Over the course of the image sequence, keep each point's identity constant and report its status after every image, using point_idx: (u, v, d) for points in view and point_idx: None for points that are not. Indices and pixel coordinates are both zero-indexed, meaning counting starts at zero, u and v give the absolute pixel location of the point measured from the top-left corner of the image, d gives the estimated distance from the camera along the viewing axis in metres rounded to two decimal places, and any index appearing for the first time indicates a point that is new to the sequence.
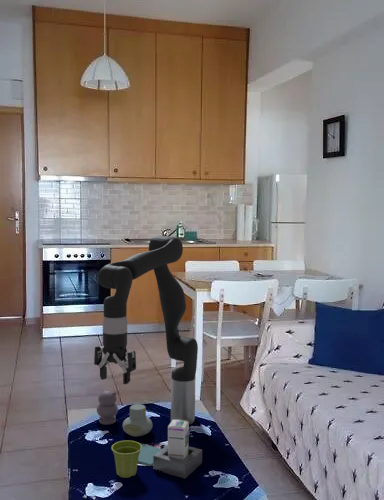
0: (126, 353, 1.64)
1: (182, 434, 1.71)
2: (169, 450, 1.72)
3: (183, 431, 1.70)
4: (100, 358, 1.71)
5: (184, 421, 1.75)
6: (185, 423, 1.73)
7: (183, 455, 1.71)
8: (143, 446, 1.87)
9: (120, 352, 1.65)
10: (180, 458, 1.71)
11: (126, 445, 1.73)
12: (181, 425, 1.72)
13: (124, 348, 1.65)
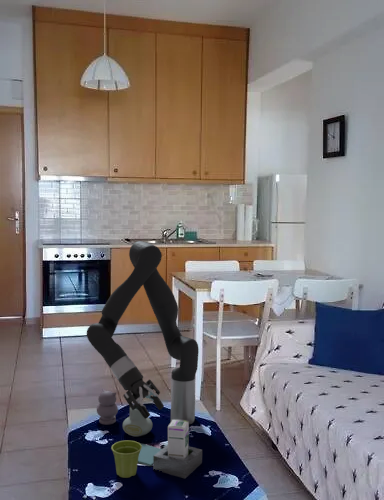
0: None
1: (182, 434, 1.71)
2: (169, 450, 1.72)
3: (183, 431, 1.70)
4: None
5: (184, 421, 1.75)
6: (185, 423, 1.73)
7: (183, 455, 1.71)
8: (143, 446, 1.87)
9: None
10: (180, 458, 1.71)
11: (126, 445, 1.73)
12: (181, 425, 1.72)
13: (128, 388, 1.77)
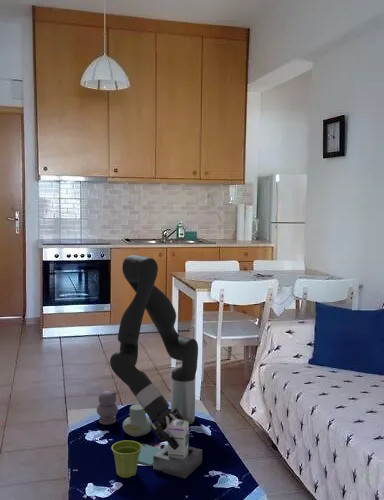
0: None
1: (182, 434, 1.70)
2: (169, 450, 1.72)
3: (183, 431, 1.70)
4: None
5: (184, 421, 1.75)
6: (185, 423, 1.73)
7: (183, 455, 1.71)
8: (143, 446, 1.87)
9: None
10: (180, 458, 1.71)
11: (126, 445, 1.73)
12: (181, 425, 1.72)
13: (155, 418, 1.73)
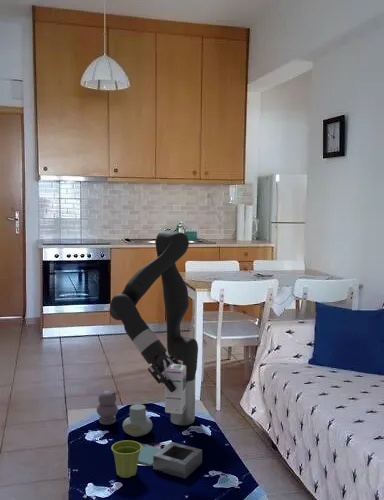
0: None
1: (179, 377, 1.70)
2: (166, 393, 1.71)
3: (181, 374, 1.69)
4: None
5: (182, 365, 1.74)
6: (183, 367, 1.73)
7: (180, 398, 1.70)
8: (143, 446, 1.87)
9: None
10: (177, 401, 1.71)
11: (126, 445, 1.73)
12: (179, 368, 1.71)
13: (152, 362, 1.72)
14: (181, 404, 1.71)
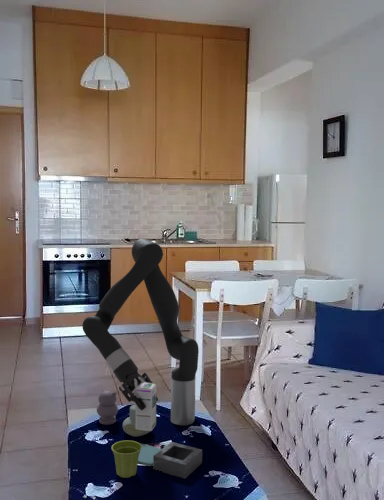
0: None
1: (149, 395, 1.76)
2: (137, 411, 1.78)
3: (150, 392, 1.76)
4: None
5: (152, 384, 1.81)
6: (153, 385, 1.79)
7: (150, 416, 1.77)
8: (143, 446, 1.87)
9: None
10: (147, 419, 1.77)
11: (126, 445, 1.73)
12: (148, 387, 1.78)
13: (123, 380, 1.79)
14: (150, 421, 1.77)
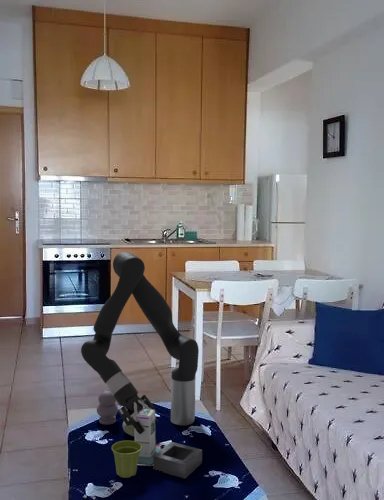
0: None
1: (147, 422, 1.77)
2: (136, 438, 1.79)
3: (148, 419, 1.77)
4: None
5: (150, 410, 1.82)
6: (151, 412, 1.80)
7: (149, 442, 1.78)
8: None
9: None
10: (146, 445, 1.78)
11: (126, 445, 1.73)
12: (147, 414, 1.78)
13: (123, 404, 1.80)
14: (150, 448, 1.78)
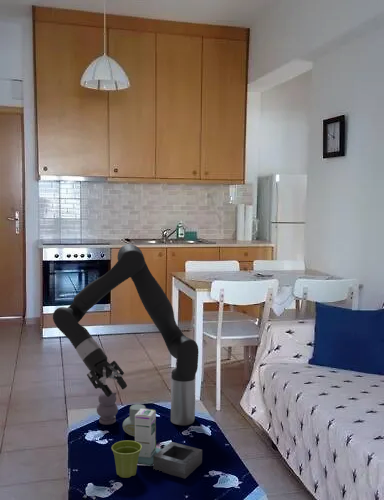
0: None
1: (148, 422, 1.77)
2: (136, 438, 1.79)
3: (149, 419, 1.77)
4: None
5: (151, 410, 1.82)
6: (152, 412, 1.80)
7: (149, 442, 1.78)
8: None
9: None
10: (146, 445, 1.78)
11: (126, 445, 1.73)
12: (147, 414, 1.79)
13: (92, 368, 1.85)
14: (150, 448, 1.78)
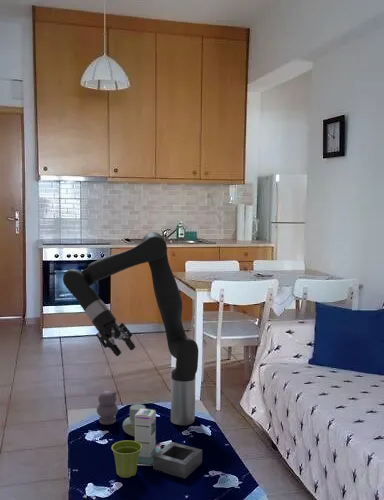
0: None
1: (148, 422, 1.77)
2: (136, 438, 1.79)
3: (149, 419, 1.77)
4: None
5: (151, 410, 1.82)
6: (152, 412, 1.80)
7: (149, 442, 1.78)
8: None
9: None
10: (146, 445, 1.78)
11: (126, 445, 1.73)
12: (147, 414, 1.79)
13: (101, 329, 1.88)
14: (150, 448, 1.78)
